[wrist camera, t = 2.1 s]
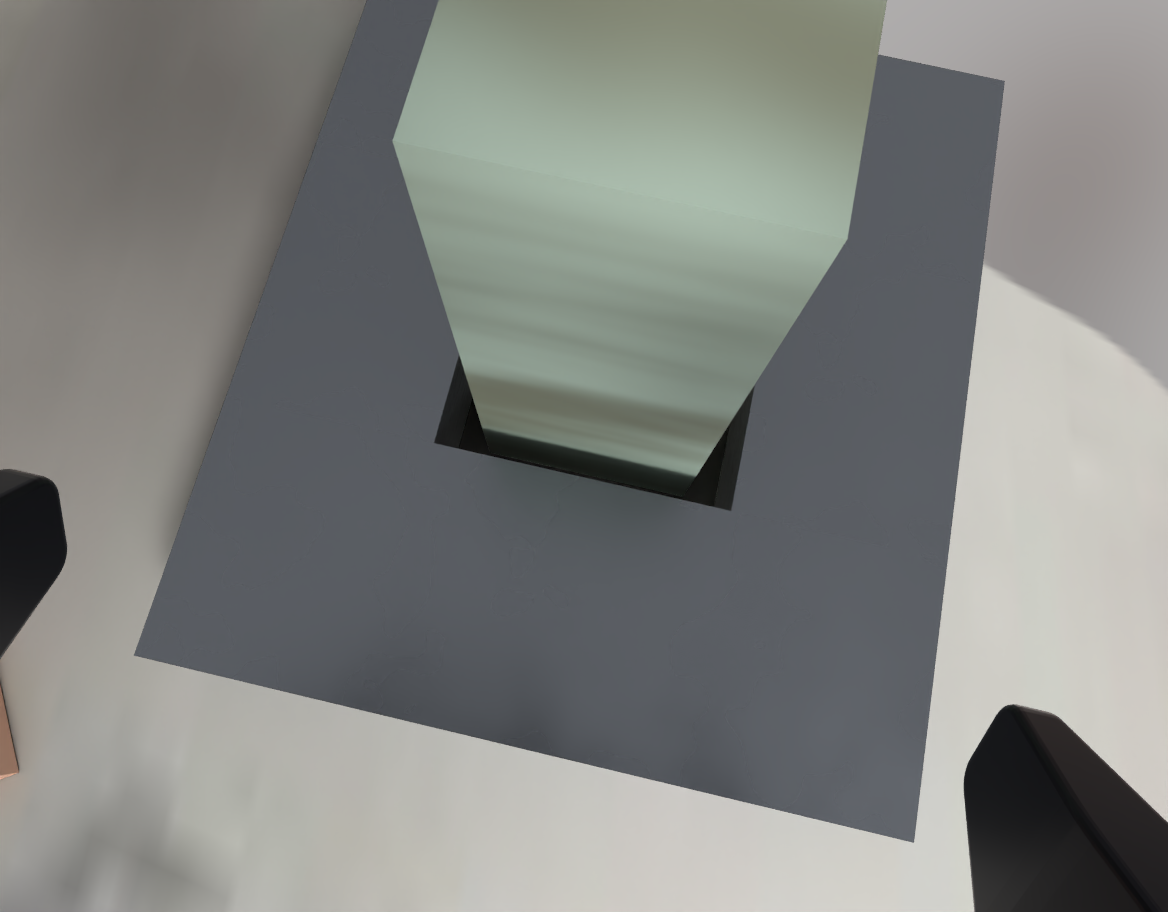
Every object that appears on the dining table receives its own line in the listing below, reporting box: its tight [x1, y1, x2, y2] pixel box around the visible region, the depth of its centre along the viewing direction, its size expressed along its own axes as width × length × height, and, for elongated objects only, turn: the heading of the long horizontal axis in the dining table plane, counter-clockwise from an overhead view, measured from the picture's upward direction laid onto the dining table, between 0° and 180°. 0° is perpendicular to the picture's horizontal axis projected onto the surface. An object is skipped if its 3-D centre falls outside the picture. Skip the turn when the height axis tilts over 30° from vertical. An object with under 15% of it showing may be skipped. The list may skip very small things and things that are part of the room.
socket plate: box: [134, 0, 1005, 843], centre depth 21 cm, size 18×16×3 cm
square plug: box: [393, 0, 887, 497], centre depth 16 cm, size 5×5×13 cm
